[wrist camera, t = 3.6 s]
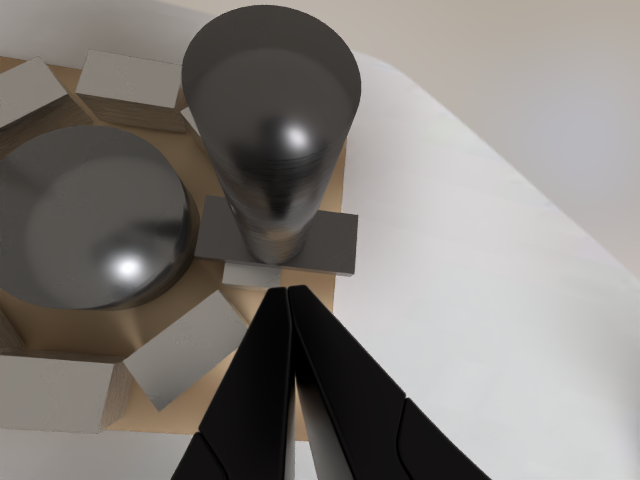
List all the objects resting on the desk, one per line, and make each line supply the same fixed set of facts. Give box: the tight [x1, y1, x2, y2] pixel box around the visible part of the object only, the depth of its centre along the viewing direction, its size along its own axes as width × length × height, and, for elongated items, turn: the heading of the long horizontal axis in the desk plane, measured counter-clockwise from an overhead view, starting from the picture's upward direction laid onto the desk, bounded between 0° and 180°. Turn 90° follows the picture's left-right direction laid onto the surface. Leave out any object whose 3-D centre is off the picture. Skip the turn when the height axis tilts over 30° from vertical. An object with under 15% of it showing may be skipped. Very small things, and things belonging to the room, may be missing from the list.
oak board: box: [0, 56, 347, 441], centre depth 15 cm, size 16×19×1 cm
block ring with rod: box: [0, 5, 361, 434], centre depth 9 cm, size 15×18×11 cm
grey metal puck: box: [0, 125, 201, 311], centre depth 13 cm, size 7×7×3 cm
